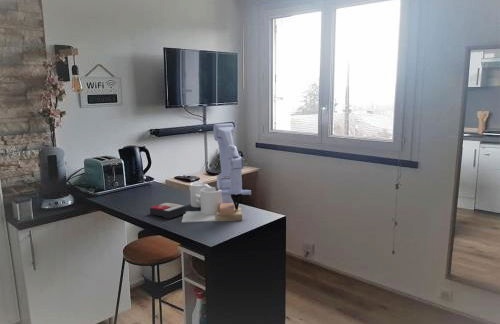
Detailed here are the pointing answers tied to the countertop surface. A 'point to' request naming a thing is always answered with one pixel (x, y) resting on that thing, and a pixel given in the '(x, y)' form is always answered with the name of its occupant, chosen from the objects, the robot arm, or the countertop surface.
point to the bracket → (205, 197)
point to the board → (230, 215)
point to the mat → (198, 217)
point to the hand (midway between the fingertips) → (236, 209)
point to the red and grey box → (168, 210)
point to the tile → (227, 208)
